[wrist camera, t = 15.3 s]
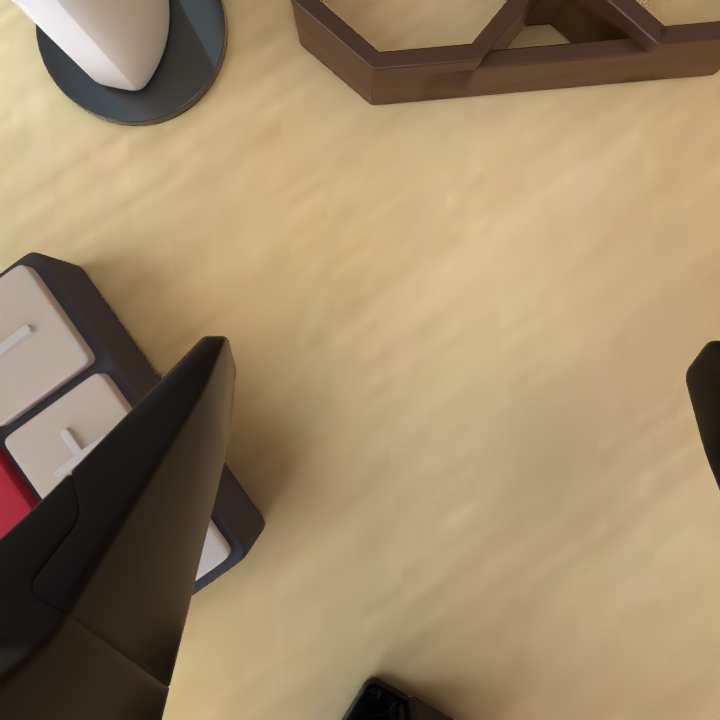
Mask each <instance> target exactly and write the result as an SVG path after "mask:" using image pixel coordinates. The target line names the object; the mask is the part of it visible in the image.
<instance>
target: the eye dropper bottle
mask: <svg viewBox="0 0 720 720" xmlns="http://www.w3.org/2000/svg"><path fill="white" fill-rule="evenodd" d="M12 1H13V2H14V3H15V4H16V5H17V6H18V7H20V8H21V9H22V10H23V11H24V12H25V13H26V14H27V15H28V16H29V17H30V18H31V19H32V20H33V21H34V22H35V23H36V24H37V25H38V26H39V27H40V28H41V29H42V30H43V31H44V32H45V33H46V34H47V35H48V36H49V37H50V38H51V39H52V40H53V41H54V42H55V43H56V44H57V45H58V46H59V47H60V48H61V49H62V50H63V51H64V52H65V53H66V54H67V55H68V56H69V57H71V58H72V59H73V60H74V61H75V62H76V63H77V64H78V65H79V66H80V67H81V68H82V69H83V70H84V71H85V72H86V73H87V74H88V75H89V76H90V77H91V78H92V79H93V80H94V81H96V82H98V83H100V84H102V85H105V86H109V87H114V88H119V89H125V90H131V91H135V90H140V89H142V88H143V87H145V86H146V84H147V83H148V82H149V80H150V79H151V77H152V76H153V74H154V72H155V70H156V69H157V67H158V64H159V62H160V60H161V57H162V55H163V52H164V49H165V45H166V41H167V37H168V30H169V17H170V10H169V0H12Z"/></svg>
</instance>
